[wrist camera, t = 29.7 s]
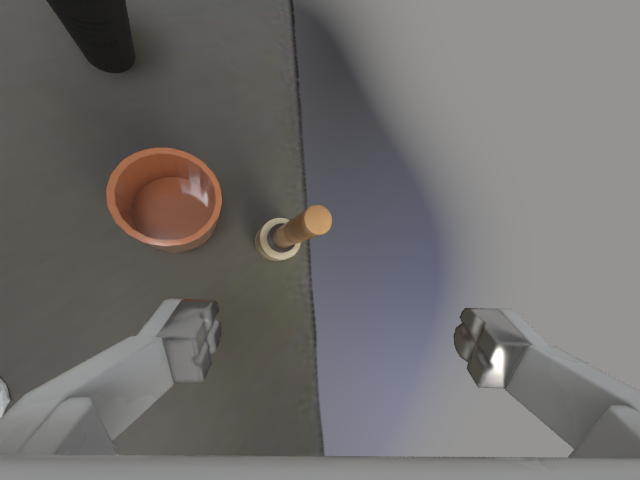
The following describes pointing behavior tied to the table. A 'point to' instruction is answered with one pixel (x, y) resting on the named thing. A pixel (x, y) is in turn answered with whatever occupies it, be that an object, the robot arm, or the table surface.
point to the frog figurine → (3, 397)
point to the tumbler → (165, 199)
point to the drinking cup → (99, 31)
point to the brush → (291, 233)
